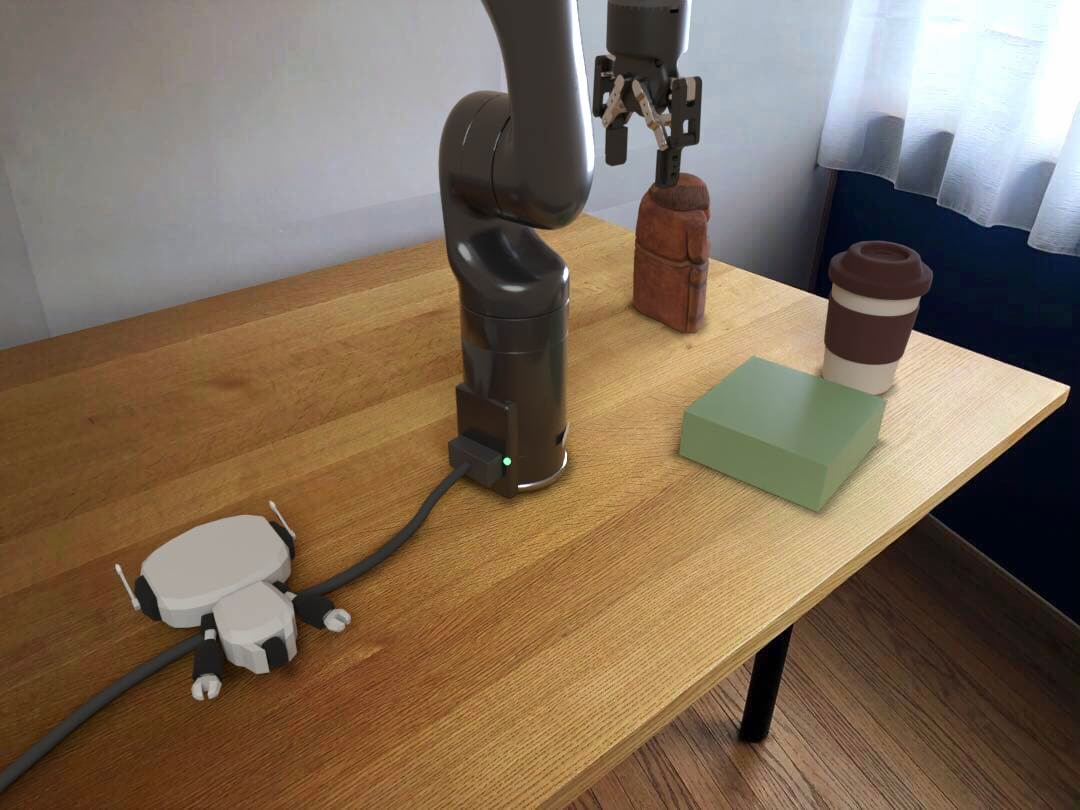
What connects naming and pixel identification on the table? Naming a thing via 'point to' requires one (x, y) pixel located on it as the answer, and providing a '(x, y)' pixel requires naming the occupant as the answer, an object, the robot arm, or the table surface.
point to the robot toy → (231, 595)
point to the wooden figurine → (673, 253)
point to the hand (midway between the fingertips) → (640, 175)
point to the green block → (782, 430)
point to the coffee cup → (871, 313)
